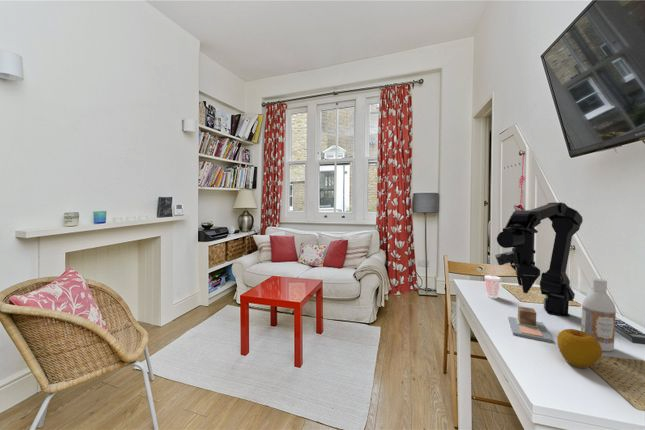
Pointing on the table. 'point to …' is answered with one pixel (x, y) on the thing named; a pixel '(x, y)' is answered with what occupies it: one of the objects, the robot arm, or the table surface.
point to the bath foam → (599, 315)
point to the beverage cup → (492, 285)
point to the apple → (579, 348)
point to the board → (530, 330)
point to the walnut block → (526, 316)
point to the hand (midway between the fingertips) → (522, 289)
